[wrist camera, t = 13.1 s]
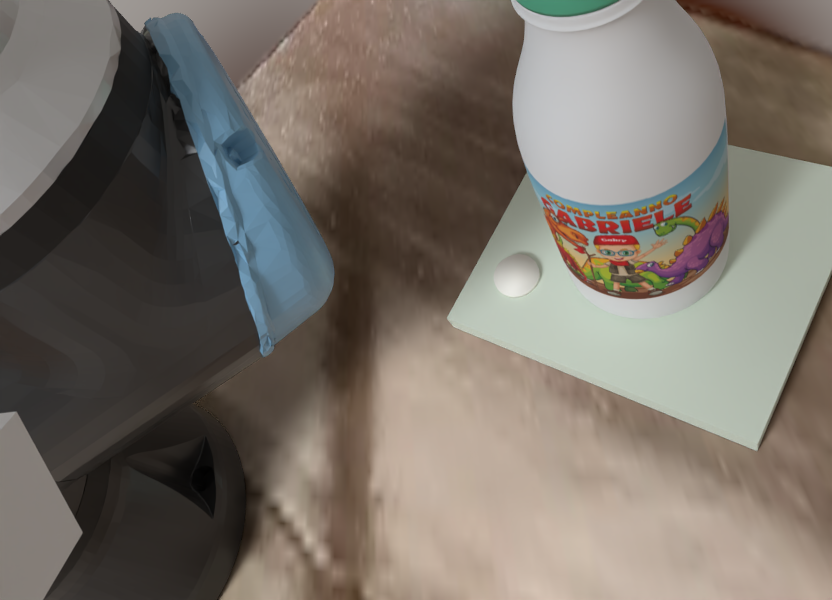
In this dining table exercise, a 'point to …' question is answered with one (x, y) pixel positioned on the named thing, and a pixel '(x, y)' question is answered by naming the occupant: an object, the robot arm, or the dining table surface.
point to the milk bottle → (626, 149)
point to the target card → (682, 331)
